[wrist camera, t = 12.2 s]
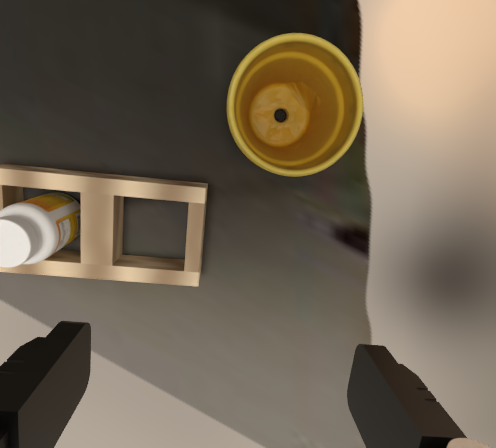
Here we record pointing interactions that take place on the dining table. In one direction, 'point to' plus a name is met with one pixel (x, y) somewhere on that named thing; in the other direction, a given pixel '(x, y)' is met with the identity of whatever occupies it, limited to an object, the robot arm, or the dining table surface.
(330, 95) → the plant pot
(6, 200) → the bottle rack
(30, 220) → the supplement bottle
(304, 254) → the dining table surface
